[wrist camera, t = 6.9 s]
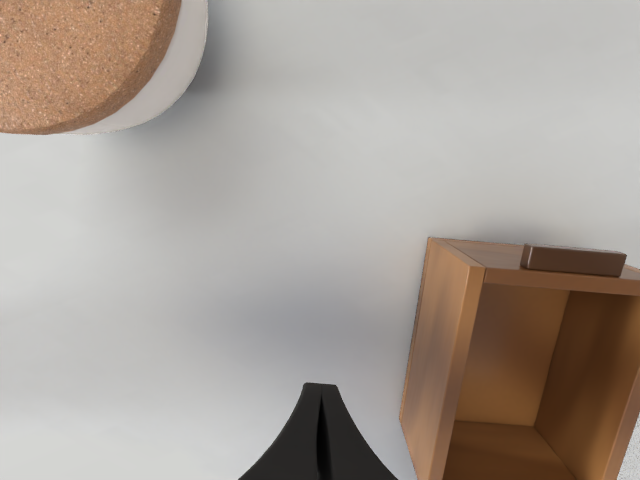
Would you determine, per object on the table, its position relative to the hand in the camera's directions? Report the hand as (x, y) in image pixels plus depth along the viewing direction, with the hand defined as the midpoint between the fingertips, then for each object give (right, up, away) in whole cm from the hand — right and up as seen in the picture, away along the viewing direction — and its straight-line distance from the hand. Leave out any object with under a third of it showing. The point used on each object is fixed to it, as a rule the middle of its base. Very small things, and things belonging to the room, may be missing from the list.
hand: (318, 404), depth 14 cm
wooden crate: (+10, +1, +7) cm, 12 cm away
